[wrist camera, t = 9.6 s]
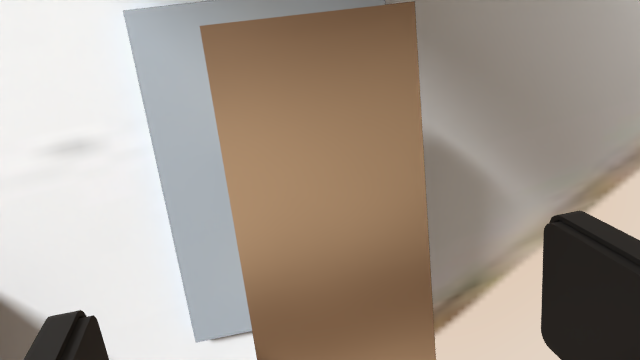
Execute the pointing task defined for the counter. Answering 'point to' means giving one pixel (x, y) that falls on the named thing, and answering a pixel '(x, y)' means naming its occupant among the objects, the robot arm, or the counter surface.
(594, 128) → the counter surface
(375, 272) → the beam
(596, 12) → the counter surface
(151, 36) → the base
